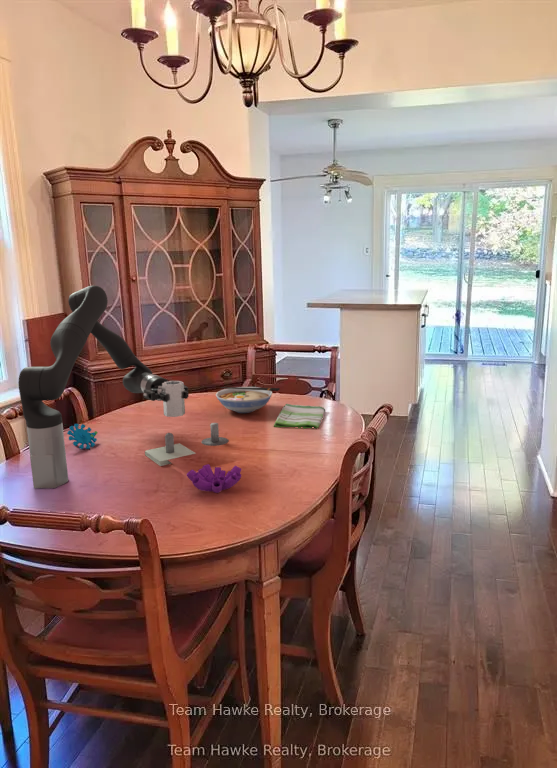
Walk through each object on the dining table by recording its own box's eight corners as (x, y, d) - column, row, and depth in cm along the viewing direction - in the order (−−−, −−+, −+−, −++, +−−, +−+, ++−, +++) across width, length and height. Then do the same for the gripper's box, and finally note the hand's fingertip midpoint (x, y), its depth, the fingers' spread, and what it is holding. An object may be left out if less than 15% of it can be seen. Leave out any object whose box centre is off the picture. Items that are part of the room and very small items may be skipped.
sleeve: (169, 417, 177) (167, 386, 175) (161, 413, 182) (159, 382, 180) (187, 414, 180) (186, 383, 178) (179, 410, 185) (177, 379, 183)
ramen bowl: (204, 416, 226) (203, 396, 225) (225, 402, 248) (224, 383, 246) (266, 420, 220) (265, 399, 218) (282, 405, 241) (281, 386, 239)
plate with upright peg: (160, 466, 175) (158, 441, 174) (145, 455, 185) (143, 431, 183) (196, 457, 182) (195, 434, 180) (179, 447, 192) (178, 424, 190)
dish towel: (325, 413, 231) (325, 404, 230) (319, 430, 209) (319, 421, 208) (283, 411, 234) (283, 403, 233) (272, 428, 212) (272, 419, 211)
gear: (76, 449, 187) (64, 424, 190) (68, 459, 190) (56, 434, 193) (105, 444, 196) (92, 420, 199) (97, 454, 199) (84, 430, 202)
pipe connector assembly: (239, 506, 155) (233, 488, 148) (186, 502, 158) (177, 484, 151) (247, 469, 162) (241, 450, 155) (196, 466, 165) (187, 447, 158)
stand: (227, 449, 189) (226, 427, 187) (199, 450, 189) (198, 428, 187) (230, 441, 197) (229, 419, 196) (203, 441, 197) (202, 420, 196)
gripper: (133, 378, 187) (153, 388, 173) (175, 373, 195) (197, 382, 181) (135, 401, 188) (155, 412, 175) (176, 394, 196) (198, 405, 183)
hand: (176, 397), depth 178 cm, fingers closed on sleeve, 6 cm apart
